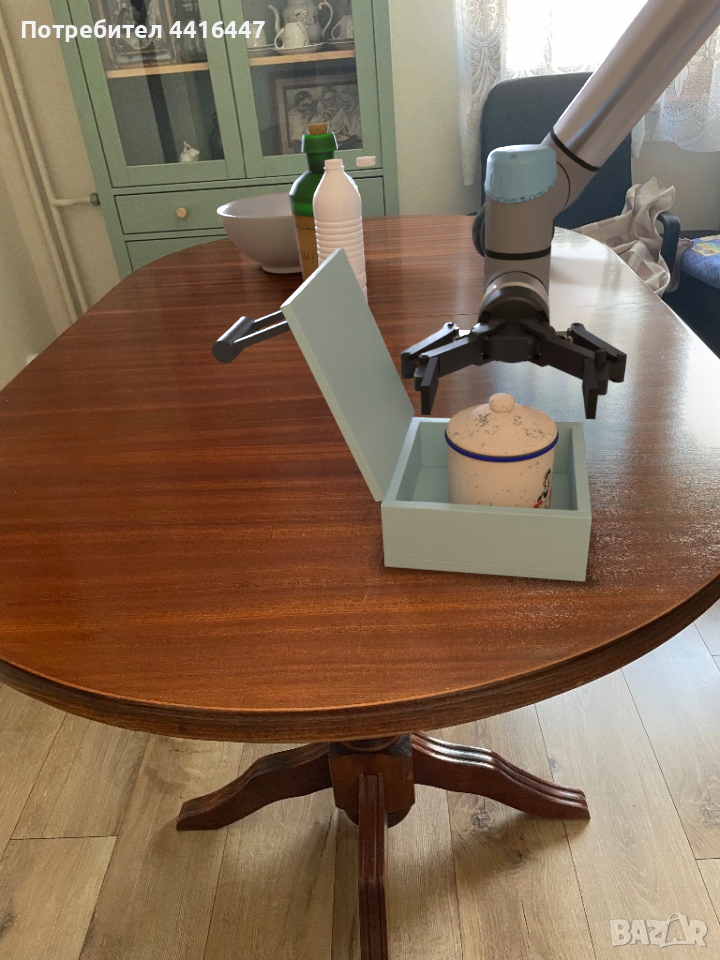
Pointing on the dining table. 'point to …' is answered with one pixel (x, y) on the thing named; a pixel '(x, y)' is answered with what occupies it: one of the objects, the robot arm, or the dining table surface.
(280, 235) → the decorative bowl
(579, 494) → the pale green box base
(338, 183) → the water bottle
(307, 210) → the bottle
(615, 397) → the dining table surface
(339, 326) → the lid
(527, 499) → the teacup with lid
